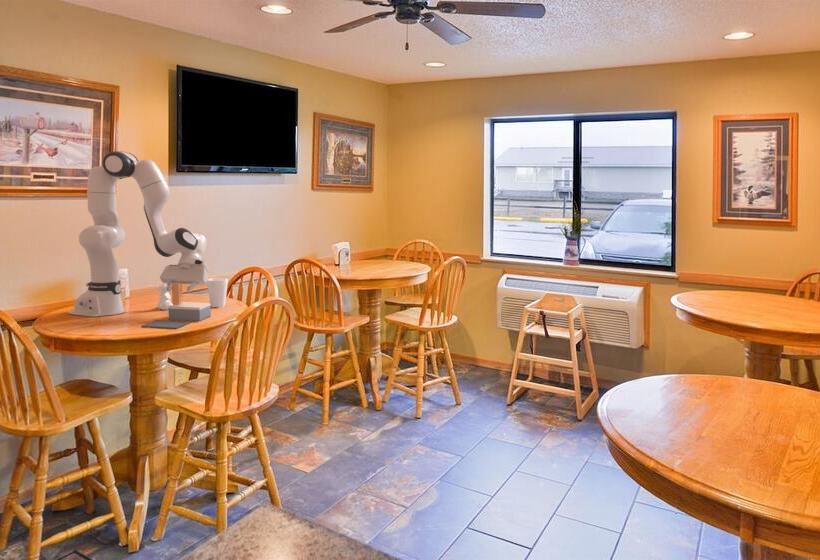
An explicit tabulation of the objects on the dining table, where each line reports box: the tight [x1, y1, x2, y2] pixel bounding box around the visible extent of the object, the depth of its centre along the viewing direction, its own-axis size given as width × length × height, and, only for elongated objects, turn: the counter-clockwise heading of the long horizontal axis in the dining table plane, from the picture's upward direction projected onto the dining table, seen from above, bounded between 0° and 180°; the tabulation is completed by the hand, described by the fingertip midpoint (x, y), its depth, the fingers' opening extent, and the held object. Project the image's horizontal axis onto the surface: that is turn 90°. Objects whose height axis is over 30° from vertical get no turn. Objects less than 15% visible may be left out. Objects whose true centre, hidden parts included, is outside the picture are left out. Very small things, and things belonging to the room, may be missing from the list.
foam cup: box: [206, 277, 229, 308], centre depth 283 cm, size 10×9×13 cm
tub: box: [167, 305, 212, 322], centre depth 257 cm, size 14×10×5 cm
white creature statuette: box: [155, 282, 173, 311], centre depth 274 cm, size 10×9×12 cm
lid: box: [168, 283, 211, 310], centre depth 256 cm, size 14×10×10 cm
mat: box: [141, 319, 191, 330], centre depth 244 cm, size 15×11×1 cm
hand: (178, 290), depth 257 cm, fingers open, 8 cm apart
